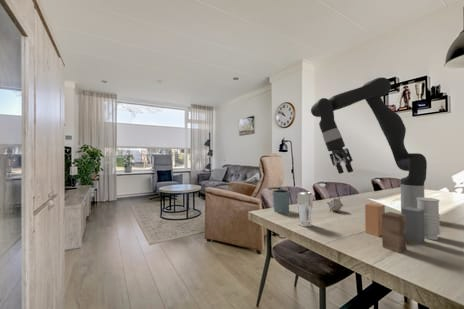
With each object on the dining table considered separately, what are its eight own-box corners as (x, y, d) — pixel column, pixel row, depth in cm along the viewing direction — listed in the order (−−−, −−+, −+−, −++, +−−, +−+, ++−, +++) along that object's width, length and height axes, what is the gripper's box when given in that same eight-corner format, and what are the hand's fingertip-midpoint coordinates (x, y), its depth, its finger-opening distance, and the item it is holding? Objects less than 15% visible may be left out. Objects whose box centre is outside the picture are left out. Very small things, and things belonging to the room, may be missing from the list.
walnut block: (390, 244, 78) (389, 211, 78) (406, 249, 73) (405, 215, 73) (382, 247, 75) (382, 213, 75) (398, 252, 71) (398, 217, 71)
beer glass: (295, 222, 103) (294, 192, 103) (309, 222, 104) (308, 191, 104) (301, 227, 96) (300, 194, 96) (315, 226, 97) (315, 194, 97)
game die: (337, 217, 124) (348, 203, 124) (336, 215, 117) (347, 200, 117) (324, 207, 129) (334, 194, 129) (321, 205, 123) (332, 191, 122)
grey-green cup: (272, 213, 120) (272, 192, 120) (272, 208, 130) (272, 189, 130) (291, 213, 118) (291, 192, 118) (289, 209, 128) (289, 189, 128)
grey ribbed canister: (412, 233, 88) (411, 197, 88) (429, 233, 87) (428, 197, 87) (426, 240, 81) (426, 201, 81) (445, 240, 81) (444, 200, 81)
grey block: (408, 236, 84) (408, 206, 84) (424, 241, 80) (424, 209, 80) (402, 239, 82) (401, 208, 82) (418, 244, 77) (417, 211, 77)
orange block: (372, 230, 91) (372, 202, 92) (385, 234, 87) (384, 205, 87) (365, 232, 89) (365, 204, 89) (378, 236, 85) (377, 206, 85)
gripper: (348, 133, 92) (362, 169, 90) (334, 140, 106) (345, 171, 104) (332, 138, 92) (345, 174, 90) (319, 144, 106) (331, 175, 104)
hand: (345, 172), depth 97 cm, fingers open, 8 cm apart
